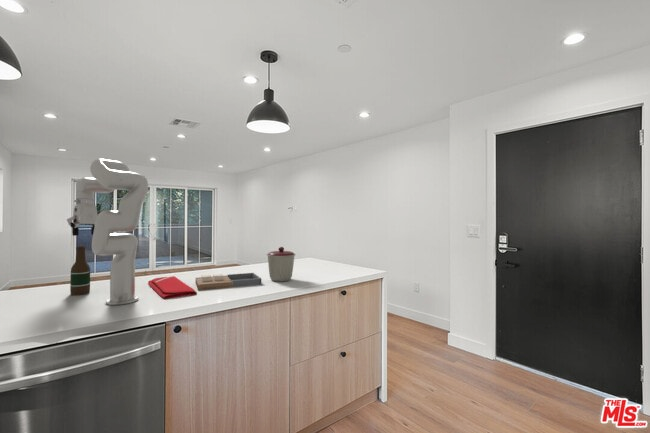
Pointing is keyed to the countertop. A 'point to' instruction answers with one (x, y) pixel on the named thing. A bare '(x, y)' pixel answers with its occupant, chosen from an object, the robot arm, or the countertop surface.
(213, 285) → the walnut board
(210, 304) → the countertop surface
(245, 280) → the tray
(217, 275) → the tile
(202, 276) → the tile
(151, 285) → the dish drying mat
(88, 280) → the beer bottle
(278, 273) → the canister
